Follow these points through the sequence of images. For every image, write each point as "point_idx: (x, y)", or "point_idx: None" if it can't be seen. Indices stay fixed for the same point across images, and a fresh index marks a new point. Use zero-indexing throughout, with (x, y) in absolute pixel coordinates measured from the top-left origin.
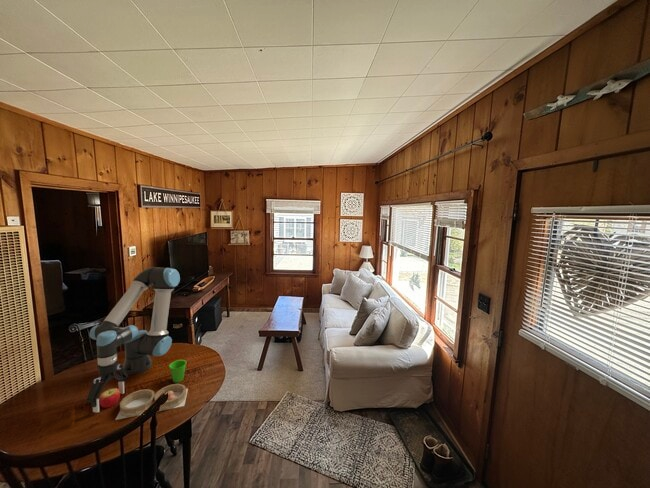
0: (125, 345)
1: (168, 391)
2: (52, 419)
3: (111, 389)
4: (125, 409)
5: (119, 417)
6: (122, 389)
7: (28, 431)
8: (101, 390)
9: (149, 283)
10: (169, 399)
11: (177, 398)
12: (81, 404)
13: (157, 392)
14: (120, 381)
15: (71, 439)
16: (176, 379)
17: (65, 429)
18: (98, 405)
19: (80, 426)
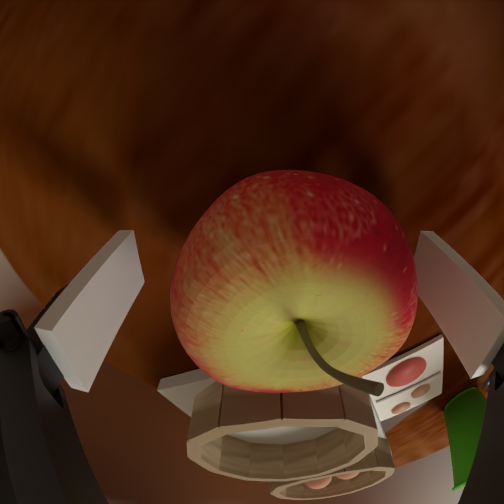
0: None
1: (350, 476)
2: None
3: (374, 321)
4: (188, 453)
5: (179, 397)
6: (430, 305)
7: None
8: (101, 491)
9: None
10: (305, 483)
11: (299, 499)
12: None
13: (339, 473)
14: (501, 341)
15: (13, 267)
16: (448, 431)
17: (16, 155)
18: (112, 328)
19: (54, 223)
